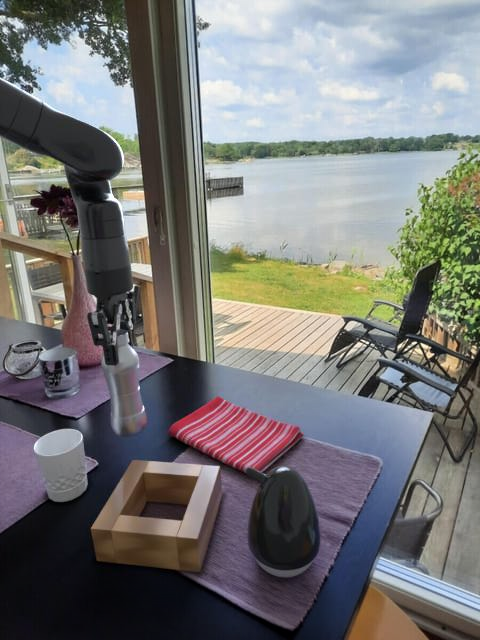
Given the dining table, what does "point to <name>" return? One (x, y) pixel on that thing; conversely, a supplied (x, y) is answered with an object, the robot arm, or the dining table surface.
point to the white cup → (62, 464)
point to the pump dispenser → (283, 522)
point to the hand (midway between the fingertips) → (119, 356)
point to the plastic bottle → (125, 389)
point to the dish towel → (236, 435)
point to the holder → (152, 533)
